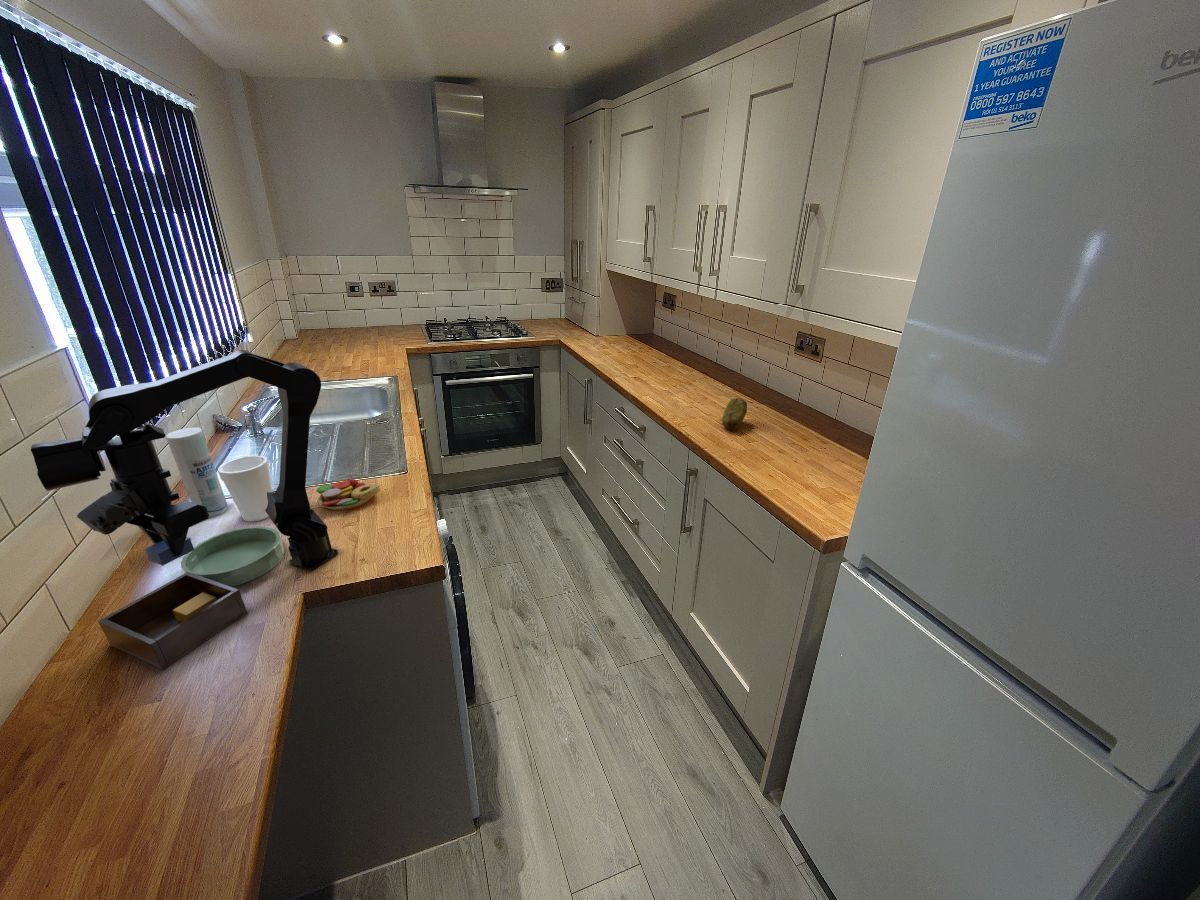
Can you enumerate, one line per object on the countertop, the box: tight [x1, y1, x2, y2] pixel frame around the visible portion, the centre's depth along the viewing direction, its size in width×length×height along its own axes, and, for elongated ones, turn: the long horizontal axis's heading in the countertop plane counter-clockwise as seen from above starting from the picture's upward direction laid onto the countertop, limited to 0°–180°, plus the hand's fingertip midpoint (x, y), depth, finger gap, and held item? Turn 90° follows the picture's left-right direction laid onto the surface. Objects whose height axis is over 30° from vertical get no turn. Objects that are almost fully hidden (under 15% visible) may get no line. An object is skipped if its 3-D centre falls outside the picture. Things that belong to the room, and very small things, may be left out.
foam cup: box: [217, 454, 273, 522], centre depth 119 cm, size 10×9×13 cm
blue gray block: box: [144, 536, 195, 566], centre depth 89 cm, size 5×4×2 cm
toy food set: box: [316, 478, 381, 511], centre depth 127 cm, size 13×13×3 cm
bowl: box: [180, 526, 285, 588], centre depth 104 cm, size 16×16×4 cm
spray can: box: [165, 427, 228, 518], centre depth 120 cm, size 6×6×20 cm
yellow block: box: [173, 592, 217, 622], centre depth 90 cm, size 5×4×2 cm
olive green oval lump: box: [721, 397, 748, 431], centre depth 168 cm, size 8×13×8 cm, turn 139°
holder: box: [97, 572, 248, 671], centre depth 87 cm, size 14×14×5 cm
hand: (171, 552), depth 89 cm, fingers closed on blue gray block, 3 cm apart
